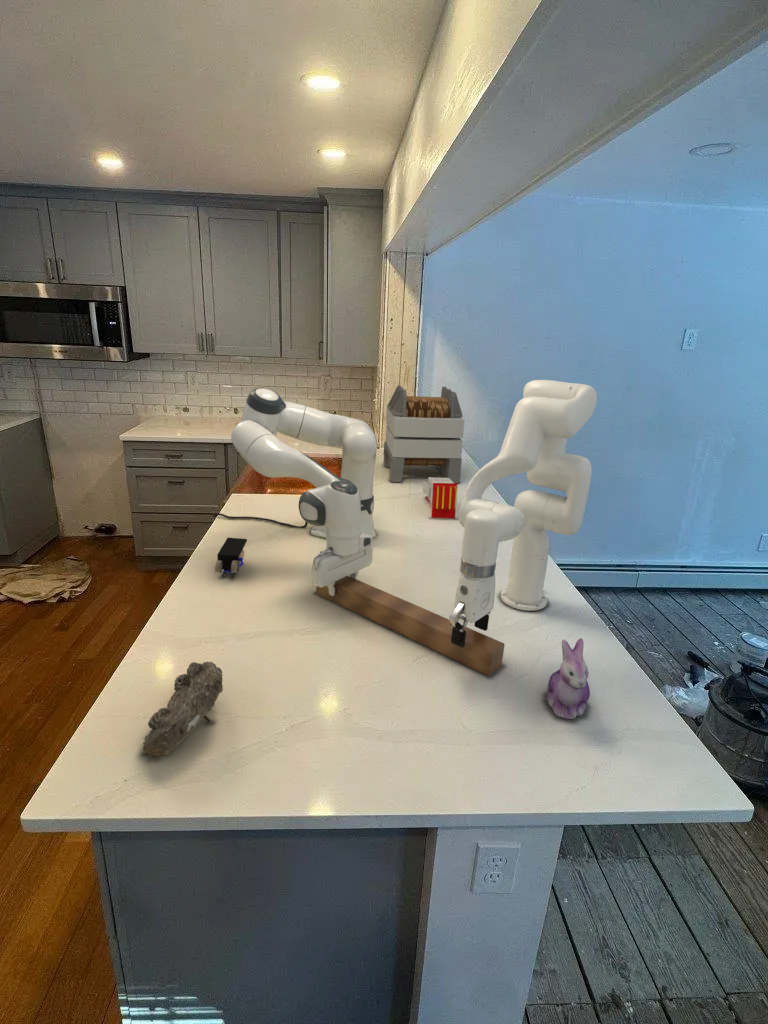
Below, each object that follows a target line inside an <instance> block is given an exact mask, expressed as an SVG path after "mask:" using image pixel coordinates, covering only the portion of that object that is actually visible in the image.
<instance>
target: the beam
mask: <svg viewBox="0 0 768 1024" xmlns="http://www.w3.org/2000/svg"><path fill="white" fill-rule="evenodd" d="M333 586H334V588H337V594H336V595H334V596H331V595H330V594H329V588H328V587H327V586H324V587H322V588H321V587H318V586H316V585H315V587H316V591H315V593H316V594H317V595H319V596H321V597H323V598H325V599H327V600H330V601H331V602H333V603H336V604H338V605H339V606H342V607H344V608H346V609H348V610H350V611H352V612H354V613H357V614H358V615H360V616H362V617H364V618H367V619H369V620H371V621H373V622H375V623H377V624H379V625H381V626H384V627H385V628H387V629H389V630H392V631H393V632H396V633H397V634H400V635H402V636H404V637H406V638H409V639H410V640H412V641H415V642H417V643H419V644H421V645H423V646H425V647H427V648H429V649H431V650H433V651H435V652H437V653H439V654H441V655H443V656H445V657H448V658H450V659H452V660H454V661H456V662H458V663H460V664H462V665H465V666H467V667H468V668H470V669H473V670H475V671H476V672H479V673H481V674H483V675H485V676H487V677H491V676H492V675H493V674H495V672H496V671H498V670H499V669H500V668H501V667H502V666H503V660H504V659H503V658H504V652H505V643H504V642H502V641H500V640H498V639H495V638H492V637H490V636H489V635H486V634H484V633H481V632H479V631H477V630H474V629H473V628H470V627H467V626H466V628H465V631H466V638H465V646H464V647H463V648H462V647H460V646H457V645H455V644H453V643H452V642H451V637H452V627H451V625H450V619H449V618H448V617H447V618H446V617H444V616H442V615H440V614H437V613H436V612H433V611H430V610H428V609H426V608H423V607H422V606H419V605H417V604H414V603H412V602H410V601H407V600H405V599H404V598H400V597H399V596H396V595H394V594H392V593H389V592H387V591H384V590H382V589H379V588H377V587H375V586H373V585H371V584H368V583H366V582H364V581H361V580H359V579H357V578H356V579H354V578H352V577H350V575H348V576H346V577H344V578H342V579H339V580H337V581H335V585H333Z"/></svg>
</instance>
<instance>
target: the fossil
mask: <svg viewBox="0 0 768 1024" xmlns="http://www.w3.org/2000/svg"><path fill="white" fill-rule="evenodd" d="M173 685H174V686H173V687H174V688H173V689H174V692H173V694H172V696H171V697H170V699H169V701H168V702H167V708H166V707H161V708H159V709H158V710H157V711H156V712H154V713H153V715H152V716H151V717H150V718H149V720H148V722H147V726H148V727H149V728H150V729H151V730H150V731H149V733H148V734H147V735H145V737H144V742H142V749H143V752H144V754H146V755H149V756H150V757H156V756H161V755H162V756H163V755H166V756H167V755H169V754H170V753H171V752H172V751H173V750H174V749H175V748H176V747H177V746H179V745H180V744H181V743H182V741H183V740H184V739H186V738H187V736H189V735H190V734H191V733H192V732H194V730H195V728H196V727H197V725H198V724H199V723H200V722H201V721H202V720H205V721H206V722H207V723H211V722H212V720H211V719H210V718H209V717H208V716H207V715H206V714H207V712H209V711H211V710H212V708H213V707H214V706H215V704H216V702H217V699H218V698H219V695H220V694H221V693H222V692H223V690H224V688H223V687H224V686H223V671H222V669H221V667H219V666H217V664H216V663H214V662H213V661H204V662H202V663H200V662H195V661H193V662H190V664H189V665H188V667H187V668H186V673H183V674H179V675H178V676H177V677H176V678H175V679H174V684H173Z"/></svg>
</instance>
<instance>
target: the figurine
mask: <svg viewBox="0 0 768 1024" xmlns="http://www.w3.org/2000/svg"><path fill="white" fill-rule="evenodd" d="M584 645H585V643H584V639H583V638H582V637H580V638H578V639H577V640H576V642H575V645H574V647H573V648H572V647H571V646H570V643H569V642H568V641H567V640H566V639H562V640H561V653H562V661H561V664H560V666H559V669H558V670H555V671H554V672H553V673H552V674H551V675H550V677H549V679H548V684H547V692H546V700H547V703H548V704H547V705H549V707H550V708H551V709H552V711H553V712H554V714H555V716H558V718H562V719H563V718H564V719H567V720H574V719H576V718H577V717H578V716H582V715H583V714H584V713H585V711H586V707H587V704H588V701H589V699H590V697H591V690H590V684H589V682H588V678H589V669H588V665H587V663H586V661H585V659H584Z"/></svg>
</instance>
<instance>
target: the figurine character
mask: <svg viewBox="0 0 768 1024" xmlns="http://www.w3.org/2000/svg"><path fill="white" fill-rule="evenodd" d="M247 542H248V538H240V537H226V539H225V541H224V543H223V544H222V546H221V547H220V549H219V551H218V552H217V560H216V562H215V564H214V572H215V573H221V577H222V578H224V577H225V576H226V574H227V573H230V574H231V573H232V574H231V578H234V577H235V575H236V573H237V572H239V571H240V567H242V566H243V565H244V564H245V562H244V558H245V551H244V547H245V546H246V544H247Z"/></svg>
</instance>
